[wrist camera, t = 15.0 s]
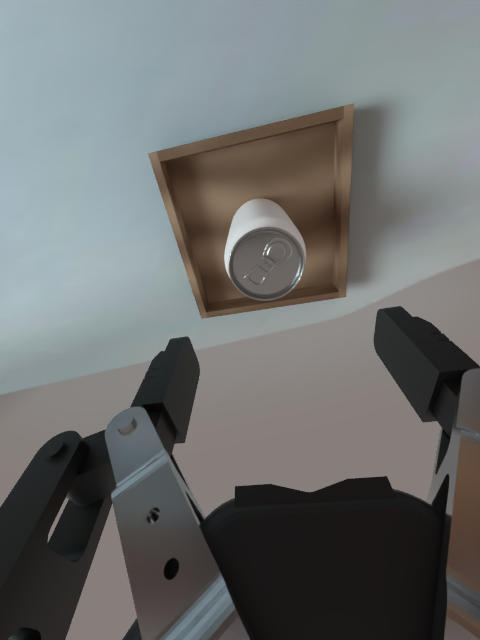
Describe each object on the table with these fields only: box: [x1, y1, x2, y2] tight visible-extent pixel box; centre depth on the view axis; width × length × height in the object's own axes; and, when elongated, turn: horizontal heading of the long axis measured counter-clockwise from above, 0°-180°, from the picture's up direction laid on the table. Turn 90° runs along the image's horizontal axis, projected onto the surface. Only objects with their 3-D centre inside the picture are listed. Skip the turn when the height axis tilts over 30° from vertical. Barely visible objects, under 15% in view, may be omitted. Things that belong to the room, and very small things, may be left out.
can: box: [224, 198, 306, 301], centre depth 23 cm, size 6×6×12 cm
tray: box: [148, 104, 354, 318], centre depth 28 cm, size 18×18×4 cm
